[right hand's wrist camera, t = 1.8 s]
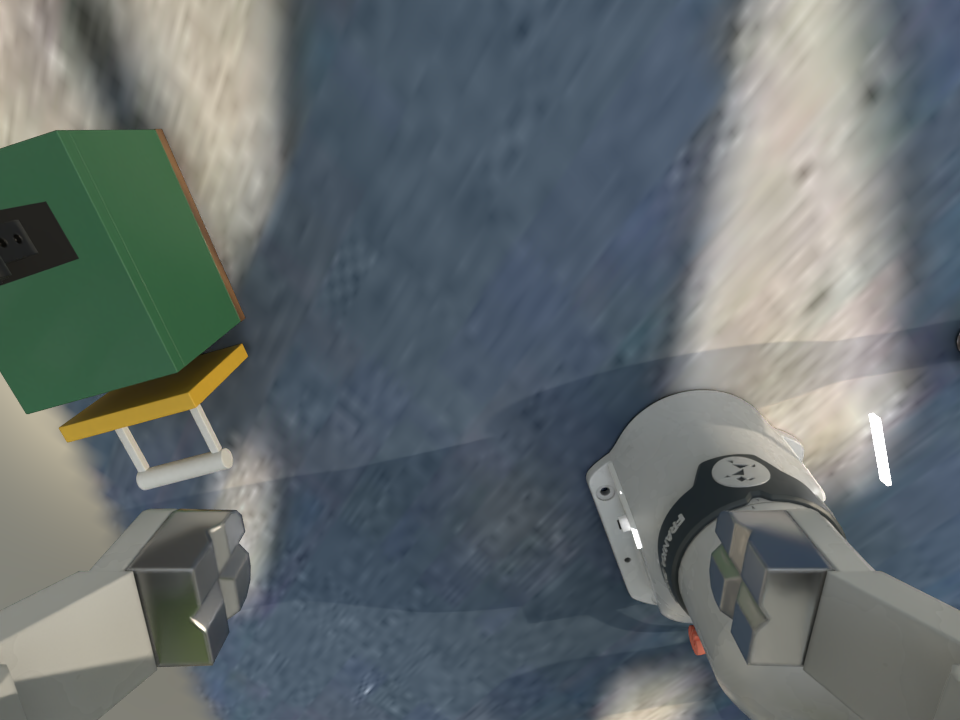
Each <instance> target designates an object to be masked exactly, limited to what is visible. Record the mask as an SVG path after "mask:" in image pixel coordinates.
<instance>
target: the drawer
mask: <svg viewBox="0 0 960 720" xmlns="http://www.w3.org/2000/svg"><path fill="white" fill-rule="evenodd" d="M247 357H248V355H247V353H246V351H245V349H244V346H243V344H238V345H235V346H231V347H228V348H224V349H221V350H217V351H213V352H210V353H206V354H203V355H199V356H197V357H196V358H195V359H194V360H192V361H191V362H190V363H189V364H188V365H186V366H185V367H184V368H183V369H181V370H180V371H179V372H178V373H174V374H171V375H167V376H164V377H160V378H156V379H153V380H149V381H146V382H142V383H138V384H135V385H131V386H128V387H124V388H120V389H117V390H113V391H110V392H108V393H107V394H105V395H104V396H103V397H101V398H100V399H98V400H97V401H96V402H94V403H93V404H91V405H90V406H89V407H87V408H86V409H84V410H83V411H82V412H80V413H79V414H77V415H76V416H75V417H73V418H72V419H70V420H69V421H68V422H66V423H65V424H63V425H62V426H61V427H59V430H60V431H61V433H62V435H63V436H64V438H65V440H66V441H67V442H72V441H75V440H79V439H83V438H86V437H90V436H94V435H98V434H101V433H105V432H109V431H112V430H115V431H116V433H117V435H118V436H119V438H120V440H121V442H122V443H123V445H124V447H125V449H126V451H127V452H128V454H129V456H130V458H131V459H132V461H133V463H134V465H135V467H136V468H137V470H138V474H137V477H136V480H137V484H138V486H139V487H140V488H141V489H143V490H148V489H152V488H155V487H159V486H163V485H167V484H171V483H175V482H179V481H183V480H186V479H190V478H194V477H198V476H202V475H206V474H210V473H214V472H217V471H221V470H225V469H229V468H231V467H232V464H233V457H232V454H231V452H230V451H229V450H228V449H227V448H223V449H221V448H222V447H221V445H220V443H219V441H218V439H217V437H216V435H215V433H214V431H213V429H212V427H211V425H210V423H209V421H208V419H207V417H206V415H205V413H204V411H203V409H202V407H201V405H200V403H201V402H202V401H203V400H204V399H205V398H206V397H207V396H208V395H210V394H211V393H212V392H213V391H214V390H215V389H216V388H217V387H218V386H219V385H220V384H221V383H222V382H223V381H224V380H225V379H226V378H227V377H228V376H229V375H230V374H231V373H232V372H233V371H234V370H235V369H236V368H237V367H238V366H239V365H240V364H241V363H242V362H243V361H244V360H245V359H246V358H247ZM186 410H190V412H191V413H192V415H193V417H194V419H195V421H196V423H197V425H198V427H199V429H200V431H201V433H202V435H203V437H204V439H205V441H206V443H207V445H208V447H209V449H210V451H211V452H208V453H204V454H201V455H197V456H193V457H189V458H185V459H181V460H178V461H174V462H170V463H166V464H162V465H158V466H155V467H151V468H149V465H148V463H147V461H146V459H145V457H144V456H143V454H142V452H141V450H140V448H139V447H138V445H137V443H136V441H135V439H134V438H133V436H132V434H131V432H130V430H129V429H128V427H127V426H131V425H135V424H138V423H142V422H146V421H149V420H153V419H157V418H161V417H164V416H168V415H172V414H175V413H179V412H183V411H186Z"/></svg>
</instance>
